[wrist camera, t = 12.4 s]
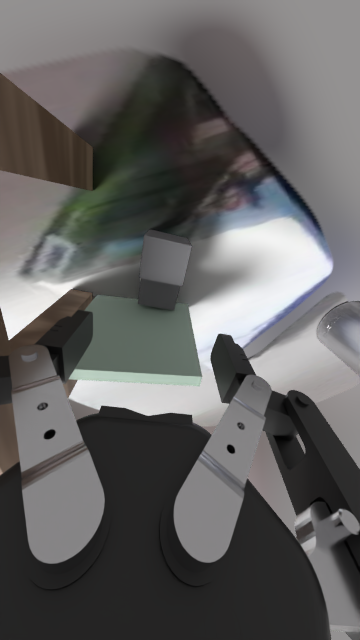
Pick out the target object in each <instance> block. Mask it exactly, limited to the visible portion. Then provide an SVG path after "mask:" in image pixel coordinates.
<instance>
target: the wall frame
mask: <svg viewBox="0 0 360 640" xmlns="http://www.w3.org/2000/svg"><path fill="white" fill-rule="evenodd" d="M0 170H2V171H6V172H11V173H15V174H20V175H24V176H29V177H33V178H37V179H42V180H46V181H51V182H55V183H59V184H64V185H68V186H73V187H77V188H82V189H86V190H90V191H93V147H92V146H91V145H89V144H88V143H87V142H86V141H84V140H83V139H82V138H81V137H79V136H78V135H77V134H76V133H74V132H73V131H72V130H71V129H69V128H68V127H67V126H66V125H64V124H63V123H62V122H61V121H59V120H58V119H57V118H56V117H54V116H53V115H52V114H51V113H49V112H48V111H47V110H46V109H44V108H43V107H42V106H41V105H39V104H38V103H37V102H36V101H35V100H33V99H32V98H31V97H30V96H28V95H27V94H26V93H25V92H23V91H22V90H21V89H20V88H18V87H17V86H16V85H15V84H13V83H12V82H11V81H10V80H8V79H7V78H6V77H5V76H3V75H2V74H1V73H0ZM91 302H92V293H90V292H84V291H79V290H73V289H71V290H69V291H68V292H67V293H66V294H65V295H63V296H62V297H61V298H60V299H59V300H57V301H56V302H55V303H54V304H53V305H51V306H50V307H49V308H48V309H47V310H45V311H44V312H43V313H42V314H41V315H39V316H38V317H37V318H36V319H35V320H33V321H32V322H31V323H30V324H28V325H27V326H26V327H25V328H24V329H22V330H21V331H20V332H19V333H18V334H16V335H15V336H14V337H13V338H12V339H10V340H8V336H7V332H6V328H5V324H4V320H3V316H2V312H1V309H0V356H9V355H10V354H11V353H12V352H13V351H14V350H16V349H17V348H20V347H22V346H26V345H34V344H35V343H36V342H37V341H38V340H39V339H40V338H41V337H42V336H43V335H44V334H45V333H46V332H47V331H48V330H50V328H51V327H52V326H54V324H56V323H57V322H58V321H59V320H60V319H62V318H64V317H67V316H70V317H72V316H73V315H74V314H75V313H76V311H77V310H85V309H86V308H87V307H88V305H89V304H90V303H91ZM76 382H77V380H73V379H68V381H67V382H66V384H63V386H64V389H65V392H66V395H67V397H69V395H70V393H71V392H72V390H73V388H74V386H75V384H76ZM19 461H20V458H19V450H18V442H17V434H16V426H15V418H14V410H13V403H10V404H4V405H0V475H1V474H2V473H4V472H5V471H6V470H8V469H9V468H11V467H12V466H13V465H15V464H16V463H17V462H19Z"/></svg>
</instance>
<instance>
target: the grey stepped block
mask: <svg viewBox="0 0 360 640" xmlns="http://www.w3.org/2000/svg"><path fill="white" fill-rule="evenodd" d="M191 249H192V245H191V243H190V242H189V240H188V239H187V238H185V237H181V236H177V235H172V234H168V233H164V232H160V231H155V230H151V229H149V231H148V232H147V233H146V234H145V235H144V241H143V249H142V257H141V266H140V274H139V278H141V282H140V290H139V298H138V304H140V305H146V306H151V307H157V308H163V309H169V310H174V309H175V305H176V301H177V296H178V292H179V288H180V286H183V282H184V278H185V274H186V270H187V266H188V261H189V257H190V253H191Z"/></svg>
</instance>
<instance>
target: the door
mask: <svg viewBox="0 0 360 640" xmlns="http://www.w3.org/2000/svg"><path fill="white" fill-rule="evenodd" d="M84 311H90V312H92V313H93V337H92V341H91V343H90V345H89V346H88V348H87V350H86V351H85V353H84V355H83V356H82V358H81V359H80V361H79V363H78V364H77V366H76V368H75V369H74V371H73V373H72V374H71V376H70V378H69V379H73V380H92V381H110V382H129V383H148V384H166V385H185V386H200V383H201V379H202V374H201V369H200V364H199V359H198V354H197V349H196V344H195V339H194V334H193V329H192V324H191V319H190V313H189V308H188V304H184V303H176V305H175V309H174V310H169V309H163V308H157V307H151V306H146V305H140V304H138V299H134V298H125V297H115V296H105V295H97V296H96V297H95V298H94V299H93V301H92V302H91V303H90V304H89V305H88V307H87V308H86V309H85V310H84Z"/></svg>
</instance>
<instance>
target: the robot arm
mask: <svg viewBox="0 0 360 640" xmlns="http://www.w3.org/2000/svg"><path fill="white" fill-rule="evenodd" d="M317 336H318V339H319V341H320V342H321V343H323V344H324V345H325V346H326V347H327V348H328V349H329V350H330V351H332V352H333V353H334V354H335V355H336V356H337V357H338V358H339V359H341V360H342V361H343V362H344V363H345V364H346V365H347V366H348V367H350V368H351V369H352V370H353V371H354V372H355V373H356V374H358V375H359V376H360V301H352V302H347V303H344V304H341V305H339V306H337V307H336V308H334V309H333V310H331V311H330V312H329V313H328V314H327V315H326V316H325V317H324V318H323V319H322V320H321V322H320V324H319V326H318V329H317ZM92 337H93V313H92V312H90V311H84V310H77V311H76V313H75V314H74V315H73V316H72V317H70V316H67V317H64V318H62V319H60V320H59V321H58V322H57V323H56V324H54V326H52V327H51V328H50V330H48V331H47V332H46V333H45V334H44V335H43V336H42V337H41V338H40V339H39V340H38V341H37V342H36V343H35V344H34V345H26V346H22V347H20V348H17V349H16V350H14V351H13V352H12V353H11V354H10V355H9V356H0V405H4V404H10V403H13V410H14V418H15V426H16V434H17V442H18V450H19V458H20V461H19V462H17V463H16V464H15V465H13V466H12V467H11V468H9V469H8V470H6V471H5V472H4V473H2V474H1V475H0V640H331V634H330V630H331V631H345V632H346V634H347V635H348V636H349V637H350V638H351V639H352V640H360V469H359V468H358V466H357V465H356V463H355V462H354V460H353V459H352V457H351V456H350V455H349V453H348V452H347V450H346V449H345V447H344V446H343V444H342V443H341V441H340V440H339V438H338V437H337V436H336V434H335V433H334V432H333V430H332V428H331V427H330V425H329V424H328V422H327V421H326V419H325V418H324V417H323V415H322V414H321V412H320V411H319V409H318V408H317V406H316V405H315V403H314V402H313V401H312V400H311V399H310V398H309V397H308V396H306V395H305V394H303V393H301V392H299V391H295V390H291V391H289V392H288V393H287V395H286V396H285V395H283V394H280V393H277V392H275V391H272V390H271V387H270V385H269V384H268V383H267V382H266V381H265V380H264V379H263V378H261V377H259V376H256V374H255V372H254V370H253V368H252V366H251V364H250V362H249V361H248V359H247V357H246V355H245V353H244V351H243V349H242V348H241V347H240V346H239V345H238V344H235V343H234V341H233V338H232V336H231V335H225V334H219V335H218V336H217V339H216V342H215V344H214V347H213V349H212V352H211V363H212V367H213V371H214V375H215V379H216V382H217V386H218V390H219V394H220V398H221V402H222V403H229V406H228V408H227V410H226V411H225V413H224V415H223V417H222V418H221V420H220V422H219V424H218V425H217V427H216V429H215V431H214V432H213V434H212V435H211V434H210V433H209V432H208V431H207V430H205V429H204V428H202V427H201V426H199V425H197V424H195V423H193V422H192V415H187V414H177V413H166V414H159V415H152V416H146V415H143V414H140V413H137V412H134V411H132V410H129V409H126V408H119V407H109V406H101V409H100V411H99V413H97V414H92V415H88V416H86V417H83V418H81V419H78V420H75V417H74V414H73V411H72V409H71V406H70V403H69V400H68V397H67V395H66V392H65V389H64V386H63V384H66V382H67V381H68V379H69V378H70V376H71V374H72V373H73V371H74V369H75V368H76V366H77V364H78V363H79V361H80V359H81V358H82V356H83V355H84V353H85V351H86V350H87V348H88V346H89V345H90V343H91V341H92ZM262 430H263V431H265V432H266V435H267V437H268V440H269V443H270V445H271V448H272V451H273V453H274V456H275V459H276V462H277V464H278V467H279V470H280V472H281V475H282V478H283V480H284V483H285V486H286V488H287V491H288V494H289V497H290V499H291V502H292V505H293V507H294V510H295V513H296V515H297V517H296V519H295V532H296V536H297V537H296V538H295V536H294V535H293V534H292V533H291V531H290V530H289V529H288V528H287V527H286V525H285V524H284V523H283V522H282V520H281V519H280V518H279V517H278V516H277V514H276V513H275V512H274V511H273V509H272V508H271V507H270V506H269V504H268V503H267V502H266V501H265V499H264V498H263V497H262V496H261V495H260V493H259V492H258V491H257V490H256V488H255V487H254V486H253V485H252V483H251V482H250V481H249V480H248V479H247V477H248V474H249V471H250V468H251V465H252V461H253V458H254V455H255V452H256V449H257V445H258V442H259V439H260V436H261V433H262ZM297 434H299V435H300V437H301V439H302V441H303V443H304V446H305V450H306V453H305V454H304V452H303V450H302V448H301V446H300V444H299V442H298V440H297V438H296V435H297Z"/></svg>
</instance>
